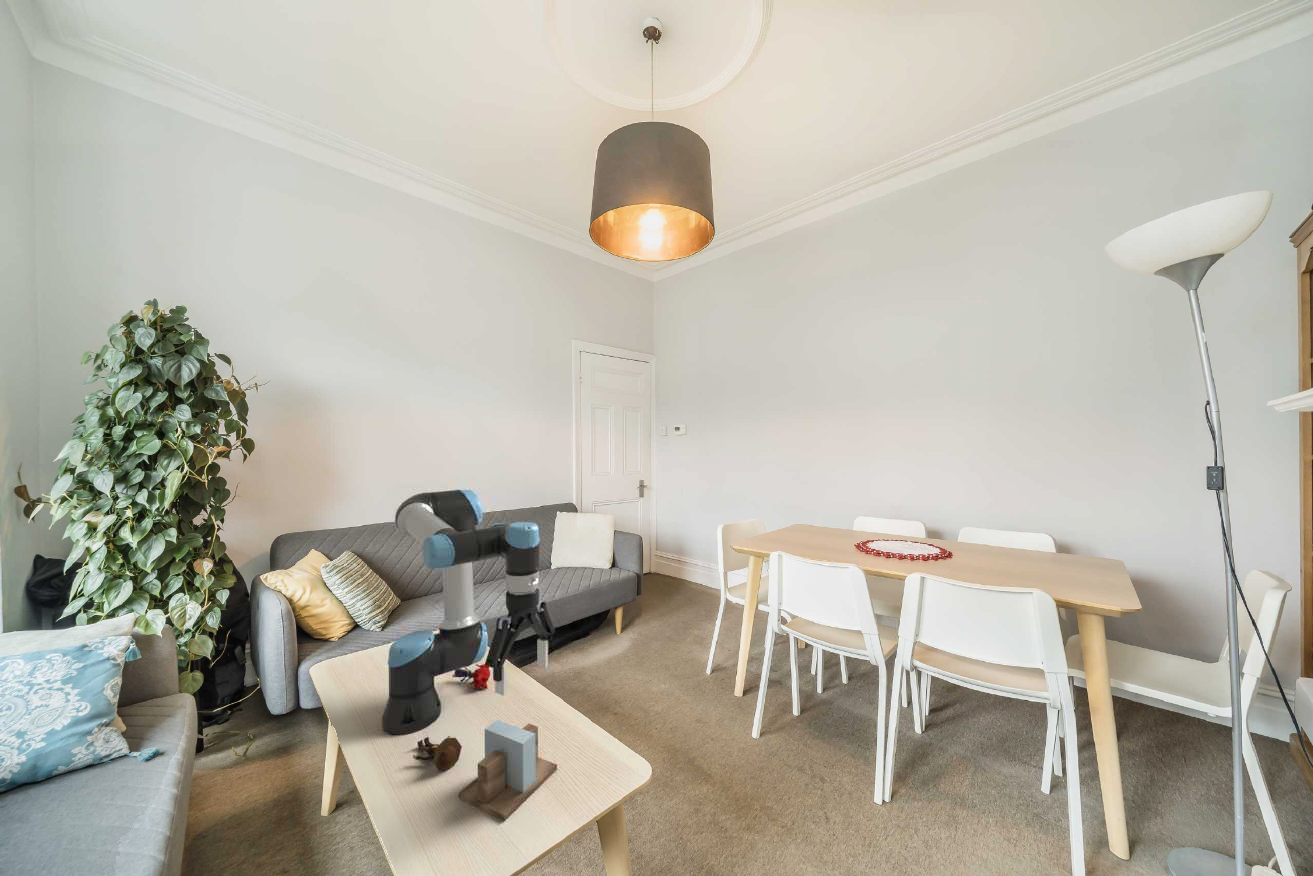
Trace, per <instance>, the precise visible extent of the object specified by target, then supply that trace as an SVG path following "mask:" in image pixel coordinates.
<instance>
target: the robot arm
mask: <svg viewBox="0 0 1313 876" xmlns="http://www.w3.org/2000/svg"><path fill="white" fill-rule="evenodd" d="M482 521H483V509H482V504H481V501H480V498H479V497H478V494H476V492H474V491H473V490H471V489H454V490H453V489H452V490H444V491H431V492H421V493H417V494H414V495H412V496H410V497H408V498H406V500H404V501H402V503H401V504H400V505H399V506H398V508H397V510H396V512H395V515H394V522H395V526H396V527H397V529H398V530H399V531H400V532H401V533H403V534H404V535H405V536H409V537H413V538H414V539H415V540H416V541H417V542H418V543H419V544H420V545H421V546H422V558H423V561H424V563H425V567H426V568H428V569H430V570H434V569H442V589H443V613H444V614H443V615H444V616H443V617H444V619H443V620H442V622H441V623H439V626H438V631H439V632H437V633H434V632H433V631H432V630H430V629H429V630H428V629H423V630H416V631H413V632H410V633H407V634H404V635H402V636H401V637H399V638H397V639H396V640H395V641H394V642H392V644H391V645H390V647H389V649H388V660H387V666H388V699H387V701H386V705H385V708H384V711H383V714H382V717H381V728H382V730H383V731H384V732H385V733H387V734H390V735H405V734H406V735H407V734H411V733H414V732H417V731H421V730H422V729H425V728H427V727H429V726H430V725H432V724H433V723H435V722H436V721H437V720H438V718H439V717H440V716H441V714H442V704H441V703H442V702H441V700H440V699H441V698H440V697H439V695H438V692H437V690H436V687H435V678H436V677H439V676H440V675H444V674H448V673H450V672H454V671H455V670H456V669H462V668H464V667H466V668H468V667H470V666H471V665H474V664H477V663H480V661H482V660H483V658H485V656H486V653H487V649H488V642H489V637H488V636H489V634H488V632H487V626H486V624H485V623H484V622H483V621H481V619H480V616H478V615H477V614H475V602H474V601H475V599H474V598H475V597H474V575H473V573H474V572H473V570H474V569H473V563H474V562H481V561H486V560H492V559H497V558H502V559H504V560H505V590H506V592H505V607H506V609H507V611H508V613H507V614H508V615H507V616H506V617H505V618H501V617H499V618H497V619H496V625H495V631H494V633H493V638H492V640H491V643H490V647H489V649H488V654H487V656H486V659H485V662H484V664H485V665H486V666H488V667H489V668H492V677H493V678H492V679H493V681H494V693H496V694H498V695H500V696H502V697H504V696H506V695H507V665H506V664H505V662H506V661H507V658H508V656H509V654H510V651H511V650H512V648H513V645H514V643H515V640H516V638H518V637H519V636H520V634H521V633H522V632H524V631H525V630H526V629H529V628H532V630H533V631H534V632H535V633H536V634H537V635H538V637H539V638H538V639H537V642H536V643H537V644H536V645H537V646H536V647H537V650H536V651H537V652H536V653H537V654H536V655H537V657H536V658H537V659H536V661H537V664H536V665H537V666H538V667H541V668H545V669H546V668H548V667H549V664H548V663H549V661H548V660H549V658H548V657H549V655H548V654H549V649H550V641H552V640H553V637H554V636H553V635H554V634H555V633H556V629H555V627H554V624H553V622H552V619H551V617H550V614H549V612H548V609H547V602H546V601H542V600H540V589H539V587H540V572H539V571H540V541H541V539H540V533H539V526H538V525H537V523H535V522H533V521H532V522H529V521H519V522H512V523H510V524H507V523H498V522H497V523H493V524H491V525H489V527H485V528H484V527H483V528H477V526H479V525H480V524H481V523H482ZM536 615H537V616H536Z"/></svg>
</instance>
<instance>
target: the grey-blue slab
mask: <svg viewBox="0 0 1313 876" xmlns="http://www.w3.org/2000/svg"><path fill="white" fill-rule="evenodd" d="M494 750H497V751H499V752H502V753H504V754H505V785H508V786H510V787H512V788H514V789H516V790H519V791H521V792H523V793H524V792H525V791H526V790H527V789H528V788H529V787H530V786H531V785H532V784H533V783H534V782H535V781H536V757H535V733H532V732H529V731H527V730H524V729H522V727H519V726H515V725H513V724H511V723H507V722H505V721H502V720H499V719H496V720H495V721H493V722H492V723H491V724H489V725H488V726H486V727H485V728H484V758H485V757H486V756H488V755H489V754H490V753H492V752H493V751H494Z"/></svg>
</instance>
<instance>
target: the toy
mask: <svg viewBox="0 0 1313 876" xmlns="http://www.w3.org/2000/svg"><path fill="white" fill-rule="evenodd" d="M417 748H418V751H421V752H425V753H426V754H427V756H421V755H420V754H419V753H418V752H417V753H416V754H412V757H413V759H414V760H417V761H424V762H427V761H431V760H432V764H433V765H434V766H435V767H436V769H437V771H439V772H445V771H450V769H452V768H453V767H454V766H455V765H456V764H457V762H458V761H459V759H460V755H461V751H462V748H463V746H462V744H461V743H460V742H459V740H458V738H456V737H451V736H450V735H448V736H447V737H446V738H445V737H444V739H443V740H442V741H441V742H440V744H438V743H432V742H430V738H429V736H426V737H425V738H424V737H423V739H421V740H419V741H417Z"/></svg>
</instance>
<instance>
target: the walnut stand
mask: <svg viewBox="0 0 1313 876" xmlns="http://www.w3.org/2000/svg"><path fill="white" fill-rule="evenodd" d="M521 729H524V730H527V731H529V732H532V733H535V757H536V781H535V782H534V783H533V784H532V785H531V786H530V787H529V788H528V789H527V790H526V791H525V792H524V793H523V792H521V791H519V790H516V789H514V788H512V787H510V786H508V785H505V754H504V753H502V752H499V751H497V750H494V751H493V752H492V753H490V754H489V755H488V756H486V757H485V756H484V758H482V760H480V761H478V763H477V777H476V778H475V779H474V780H472V781H471V782H470V783H469V784H467V786H465V787H463V789H461V790H460V791H458V799H460V800H462V801H463V802H467V803H468V804H470V805H472V806H474V807H476V808H478V809H480V810H482V811H484V812H486V813H487V814H490V815H492V816H494V817H496V818H498V819H499V820H502V821H504V822H506V821H507V819H509V817H511V816H512V815H513V814H514V812H516V810H517V809H519V808H520V807H521V806H522V805H523V804H524V803H525V802H526V801H527V800H528V799H529V798H530V796H532V795H533V794H534V793H535V792H536V791H537V790H538V789H539V788H540V787H541V786H542V785H543V784H544V783H545V782H546V781H547V780H548V779H549V778H550V777H551V776H552V775H553V774H554V773H556V771H557V770H558V764H556V763H554V762H552V761H549V760H546V759H544V758H541V757H539V727H538V726H537V725H534V724H531V723H527V724H526V725H525V726H523V727H521Z"/></svg>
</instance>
